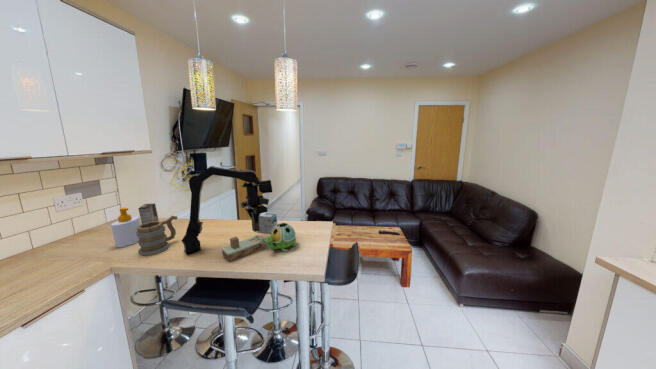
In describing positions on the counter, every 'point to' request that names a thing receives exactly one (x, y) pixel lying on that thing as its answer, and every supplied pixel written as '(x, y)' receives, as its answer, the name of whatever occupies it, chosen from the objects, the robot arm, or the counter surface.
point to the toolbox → (242, 253)
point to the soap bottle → (125, 229)
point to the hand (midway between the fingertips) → (255, 221)
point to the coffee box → (148, 213)
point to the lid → (241, 244)
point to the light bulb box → (267, 222)
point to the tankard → (154, 236)
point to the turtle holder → (281, 237)
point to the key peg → (255, 225)
